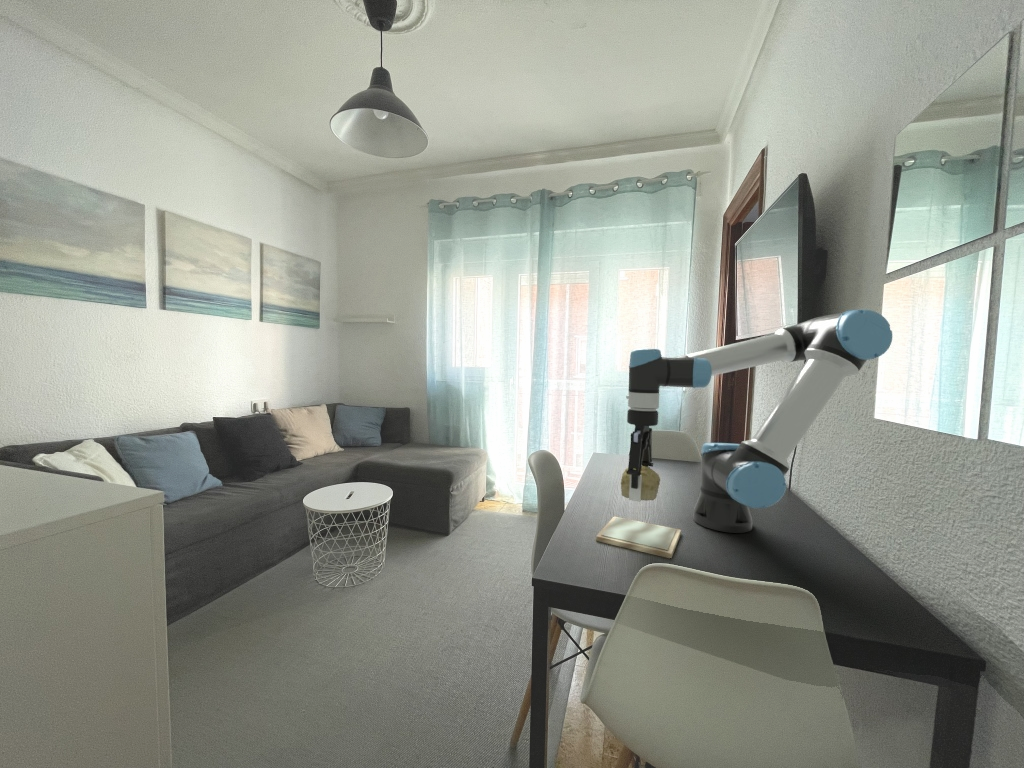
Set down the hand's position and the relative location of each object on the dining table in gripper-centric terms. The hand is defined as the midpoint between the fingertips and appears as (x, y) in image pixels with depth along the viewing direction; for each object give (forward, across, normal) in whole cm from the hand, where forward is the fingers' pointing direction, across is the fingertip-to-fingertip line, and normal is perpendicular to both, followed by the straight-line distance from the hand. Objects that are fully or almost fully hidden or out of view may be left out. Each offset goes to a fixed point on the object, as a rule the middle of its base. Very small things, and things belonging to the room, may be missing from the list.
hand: (639, 495), depth 104 cm
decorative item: (0, 0, 0) cm, 0 cm away
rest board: (+11, 0, 0) cm, 11 cm away
